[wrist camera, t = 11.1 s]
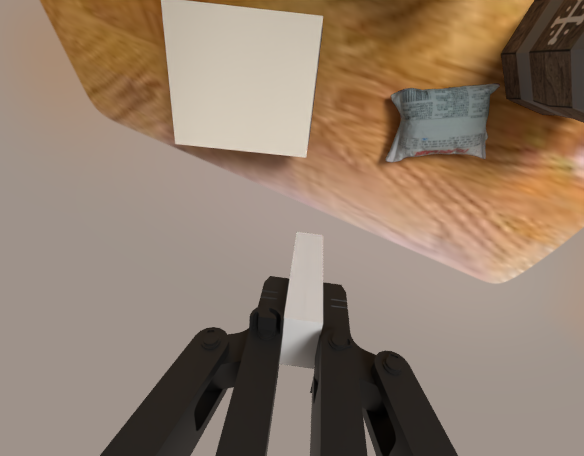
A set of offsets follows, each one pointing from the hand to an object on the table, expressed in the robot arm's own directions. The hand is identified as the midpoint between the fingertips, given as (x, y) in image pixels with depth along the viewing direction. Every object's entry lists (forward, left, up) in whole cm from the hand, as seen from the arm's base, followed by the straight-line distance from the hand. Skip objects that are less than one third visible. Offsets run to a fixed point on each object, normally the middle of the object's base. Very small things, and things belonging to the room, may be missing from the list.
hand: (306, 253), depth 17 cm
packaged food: (-4, +15, -27) cm, 31 cm away
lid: (-7, -8, -18) cm, 21 cm away
